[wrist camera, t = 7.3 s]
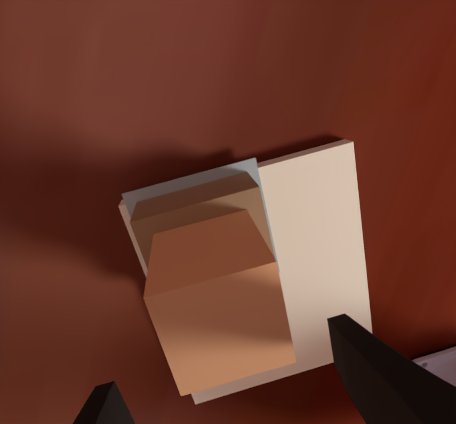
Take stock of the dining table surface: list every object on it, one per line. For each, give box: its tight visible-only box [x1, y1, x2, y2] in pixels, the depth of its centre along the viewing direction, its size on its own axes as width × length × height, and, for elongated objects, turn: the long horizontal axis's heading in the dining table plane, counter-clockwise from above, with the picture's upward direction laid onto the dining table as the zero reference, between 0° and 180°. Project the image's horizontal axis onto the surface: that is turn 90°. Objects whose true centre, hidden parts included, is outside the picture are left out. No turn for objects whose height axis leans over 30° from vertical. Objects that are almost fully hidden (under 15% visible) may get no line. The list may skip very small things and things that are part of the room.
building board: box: [118, 139, 372, 404], centre depth 20 cm, size 13×16×4 cm
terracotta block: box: [143, 209, 297, 396], centre depth 14 cm, size 4×4×5 cm
